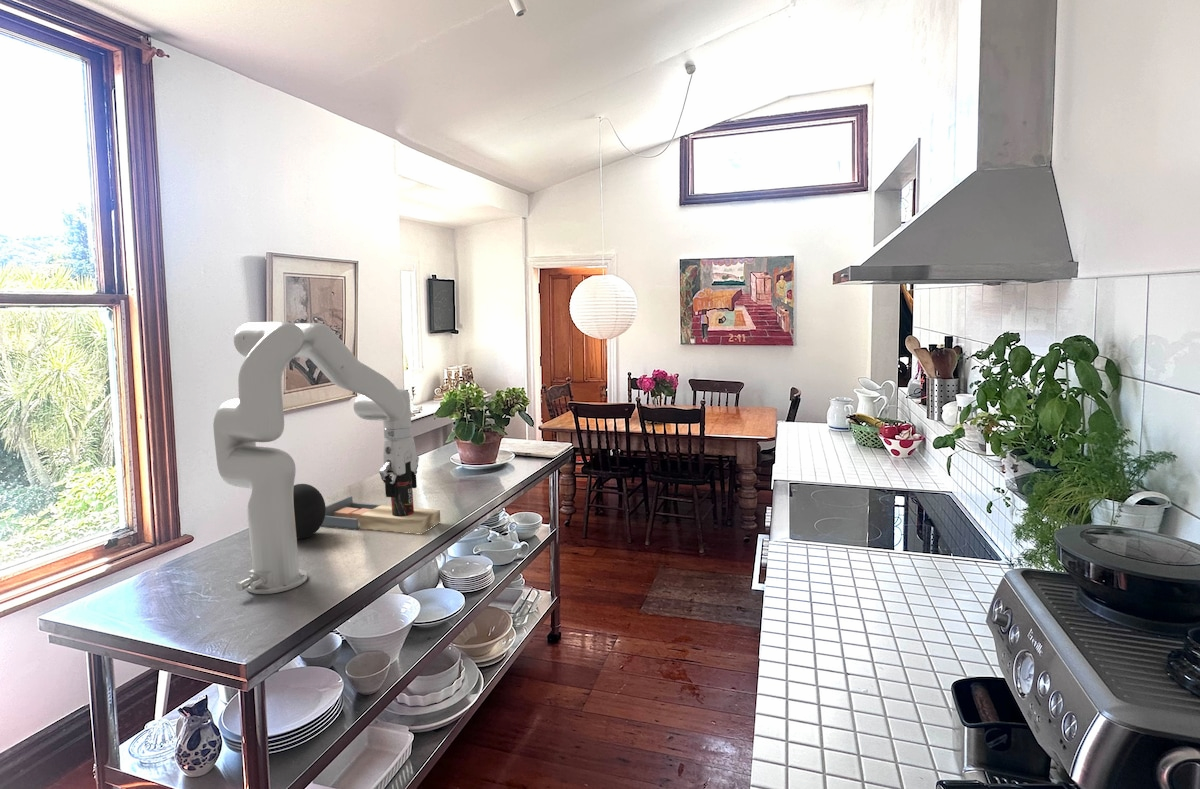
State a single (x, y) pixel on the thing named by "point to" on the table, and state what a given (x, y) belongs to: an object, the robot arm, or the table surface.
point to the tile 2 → (359, 513)
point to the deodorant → (403, 494)
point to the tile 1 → (345, 512)
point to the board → (399, 520)
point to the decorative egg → (308, 510)
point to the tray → (342, 521)
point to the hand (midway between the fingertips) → (401, 492)
